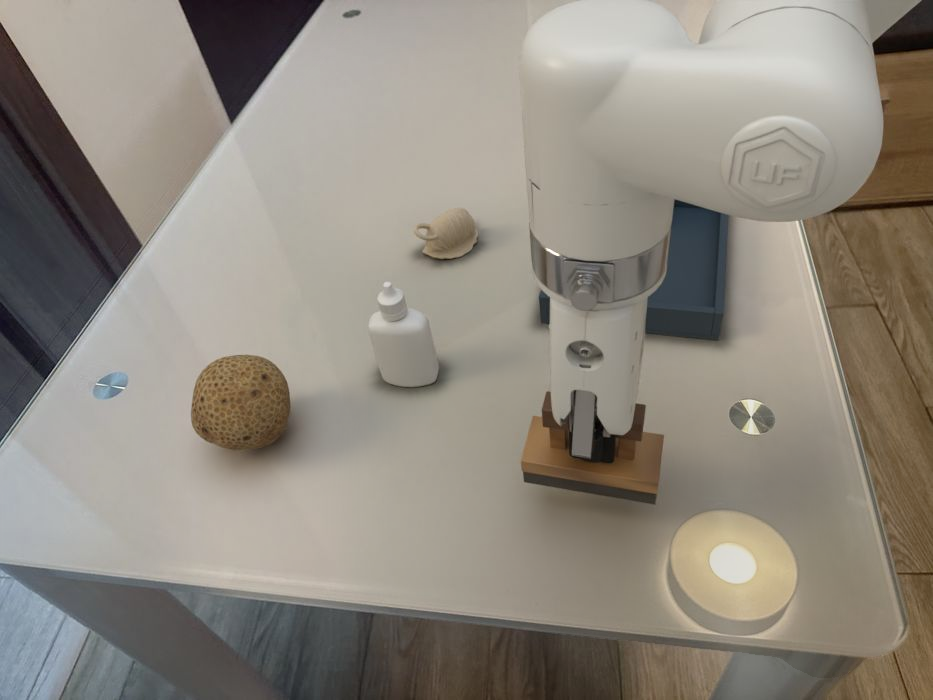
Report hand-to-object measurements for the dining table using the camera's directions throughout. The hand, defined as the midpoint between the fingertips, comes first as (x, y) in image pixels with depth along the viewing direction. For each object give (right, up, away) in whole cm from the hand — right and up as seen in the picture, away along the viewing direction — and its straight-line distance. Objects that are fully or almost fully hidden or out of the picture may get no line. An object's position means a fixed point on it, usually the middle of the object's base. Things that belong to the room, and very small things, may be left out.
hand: (594, 442), depth 52 cm
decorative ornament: (-11, +19, +32) cm, 39 cm away
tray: (+10, +16, +26) cm, 32 cm away
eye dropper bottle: (-15, +4, +19) cm, 24 cm away
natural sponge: (-29, -2, +15) cm, 33 cm away
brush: (0, -3, +3) cm, 4 cm away
